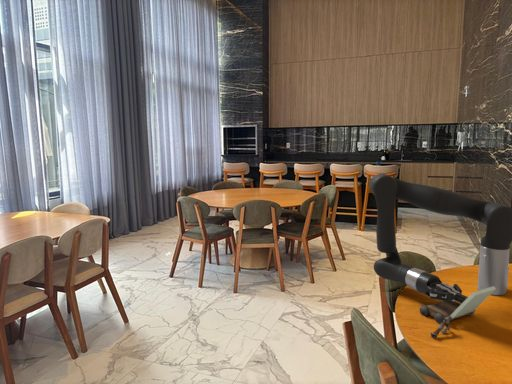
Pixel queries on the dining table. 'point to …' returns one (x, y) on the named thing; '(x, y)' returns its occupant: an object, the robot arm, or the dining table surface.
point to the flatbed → (441, 310)
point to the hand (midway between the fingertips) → (468, 301)
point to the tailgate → (472, 302)
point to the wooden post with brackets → (441, 326)
